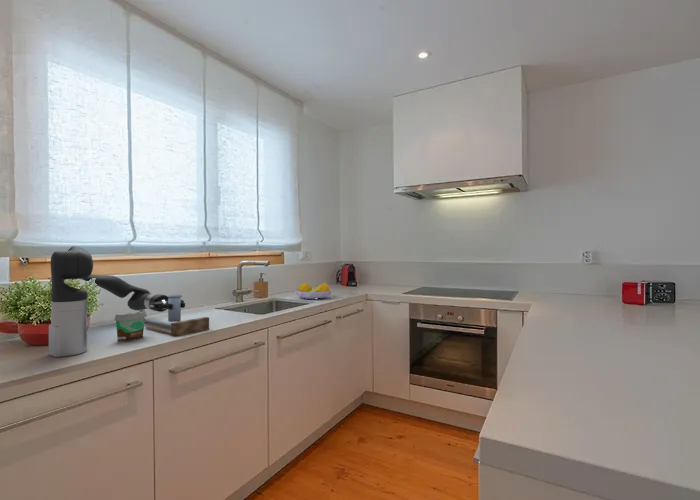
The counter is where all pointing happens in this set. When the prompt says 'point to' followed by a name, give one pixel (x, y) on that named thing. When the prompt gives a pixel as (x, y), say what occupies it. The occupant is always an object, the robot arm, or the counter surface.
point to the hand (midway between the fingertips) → (178, 306)
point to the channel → (184, 327)
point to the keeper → (174, 307)
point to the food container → (130, 326)
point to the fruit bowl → (313, 291)
